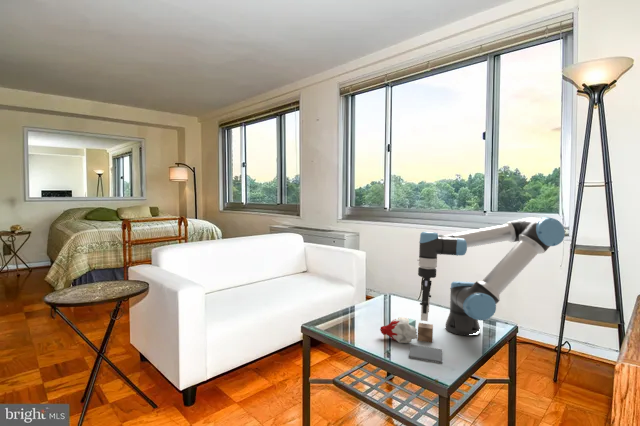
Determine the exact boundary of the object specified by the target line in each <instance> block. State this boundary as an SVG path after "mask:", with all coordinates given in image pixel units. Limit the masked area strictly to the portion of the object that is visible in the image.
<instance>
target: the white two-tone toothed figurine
mask: <svg viewBox="0 0 640 426" xmlns="http://www.w3.org/2000/svg"><path fill="white" fill-rule="evenodd" d="M379 331H380V334H382V335H384V336H385V335H386V336H389V338H391V339H392V340H393V341H397V342H398V343H399V344H410V343H411V342H412V341H413V340H416V339H418V328H417V327H413V326H411V325H409V323H408V322H407V321H406V320H403V319H399V320H398V319H397V318H395V319H392V320H391V321H390V323H388V324H387V325H384V326H383V325H382V326H380V329H379Z"/></svg>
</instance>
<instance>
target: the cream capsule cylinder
mask: <svg viewBox="0 0 640 426" xmlns="http://www.w3.org/2000/svg"><path fill="white" fill-rule="evenodd" d="M399 319H403V320H406V321H407V322H408V323H409V319H410V318H409V319H408V318H407V317H403V316H401V317H398V318H397V320H399Z"/></svg>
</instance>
